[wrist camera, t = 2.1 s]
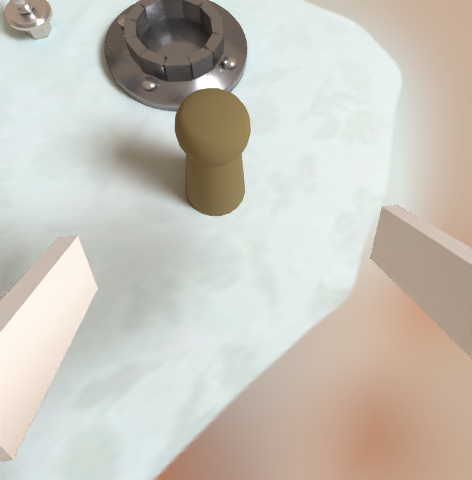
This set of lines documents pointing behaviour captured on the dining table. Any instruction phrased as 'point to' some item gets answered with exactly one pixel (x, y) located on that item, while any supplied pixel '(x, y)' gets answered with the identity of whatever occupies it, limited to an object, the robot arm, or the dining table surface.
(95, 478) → the dining table surface
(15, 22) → the screw
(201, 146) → the cork
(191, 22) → the flange
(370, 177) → the dining table surface
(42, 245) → the dining table surface
